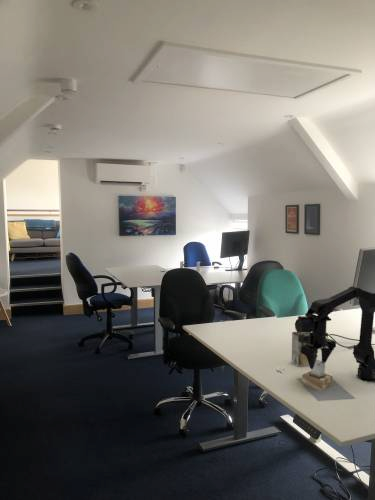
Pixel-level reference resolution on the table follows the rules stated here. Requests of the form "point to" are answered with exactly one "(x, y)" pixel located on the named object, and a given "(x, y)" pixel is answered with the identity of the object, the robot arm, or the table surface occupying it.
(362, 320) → the robot arm
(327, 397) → the rubber mat
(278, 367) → the pliers
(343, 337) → the table surface
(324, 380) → the wooden square frame
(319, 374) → the steel pin
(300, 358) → the coffee box
